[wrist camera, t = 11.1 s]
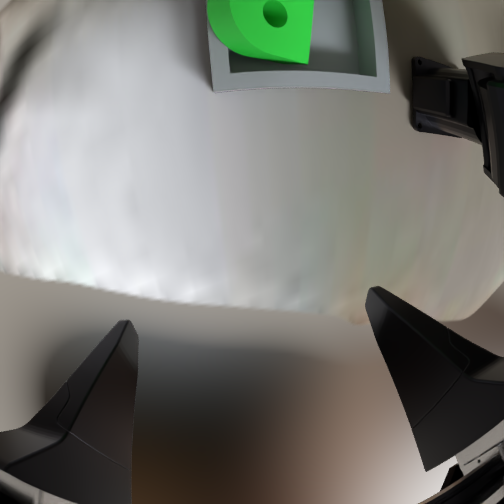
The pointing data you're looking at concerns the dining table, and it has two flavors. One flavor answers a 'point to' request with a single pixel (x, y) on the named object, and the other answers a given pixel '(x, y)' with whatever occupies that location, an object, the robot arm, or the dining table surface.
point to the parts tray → (316, 54)
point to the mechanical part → (264, 28)
